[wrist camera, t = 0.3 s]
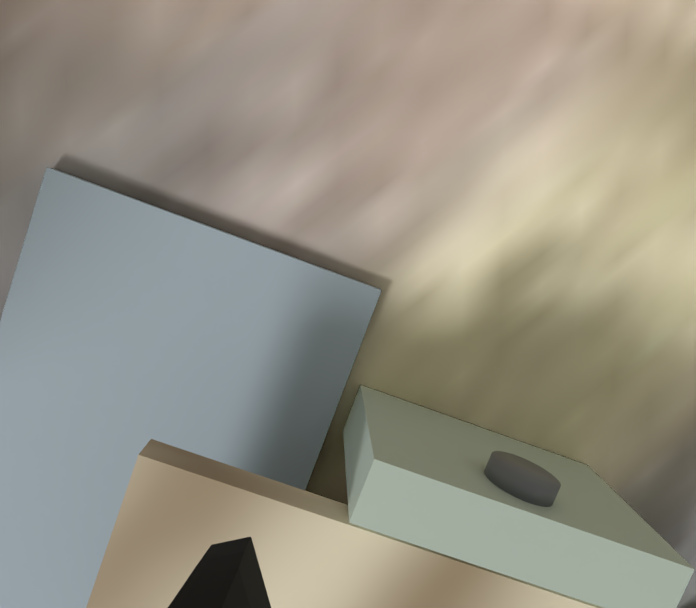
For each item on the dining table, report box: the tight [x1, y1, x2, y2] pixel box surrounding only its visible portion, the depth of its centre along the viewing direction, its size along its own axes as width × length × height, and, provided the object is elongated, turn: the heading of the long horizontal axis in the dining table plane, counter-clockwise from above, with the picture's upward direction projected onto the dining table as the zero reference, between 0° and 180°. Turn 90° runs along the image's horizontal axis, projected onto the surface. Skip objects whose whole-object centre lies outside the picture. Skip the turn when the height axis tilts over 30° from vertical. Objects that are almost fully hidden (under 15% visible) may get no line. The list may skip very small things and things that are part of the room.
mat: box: [0, 167, 381, 608], centre depth 20 cm, size 22×10×1 cm, turn 160°
